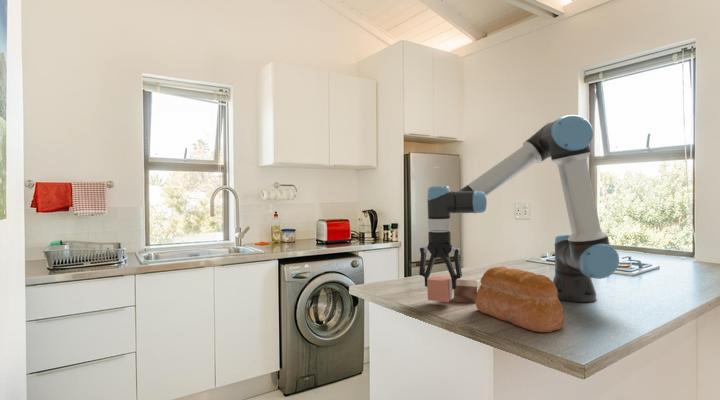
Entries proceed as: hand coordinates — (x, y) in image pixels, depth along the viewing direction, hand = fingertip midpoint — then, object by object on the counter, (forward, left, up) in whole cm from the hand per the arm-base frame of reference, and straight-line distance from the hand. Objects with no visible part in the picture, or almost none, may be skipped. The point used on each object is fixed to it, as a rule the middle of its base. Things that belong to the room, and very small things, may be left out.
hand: (440, 297), depth 135 cm
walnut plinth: (-5, -13, -3) cm, 14 cm away
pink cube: (0, 0, 0) cm, 0 cm away
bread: (-25, +4, -3) cm, 25 cm away
